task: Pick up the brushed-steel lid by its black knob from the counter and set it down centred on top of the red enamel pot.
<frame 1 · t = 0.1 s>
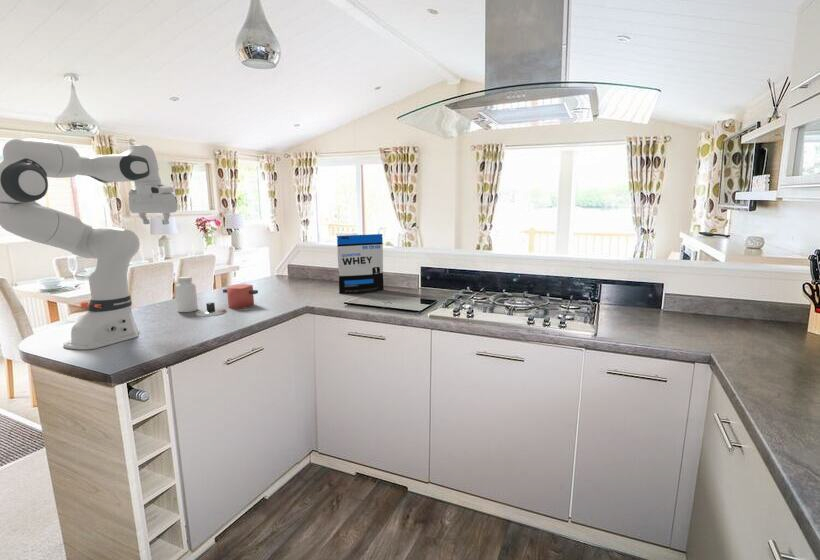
hand: (156, 224, 171), 39 cm above the table, tool pointing down, fingers open, 8 cm apart
lid: (211, 313, 187), on the table
pill bottle: (188, 310, 192), on the table
protein powder: (361, 292, 228), on the table
pot: (241, 305, 199), on the table
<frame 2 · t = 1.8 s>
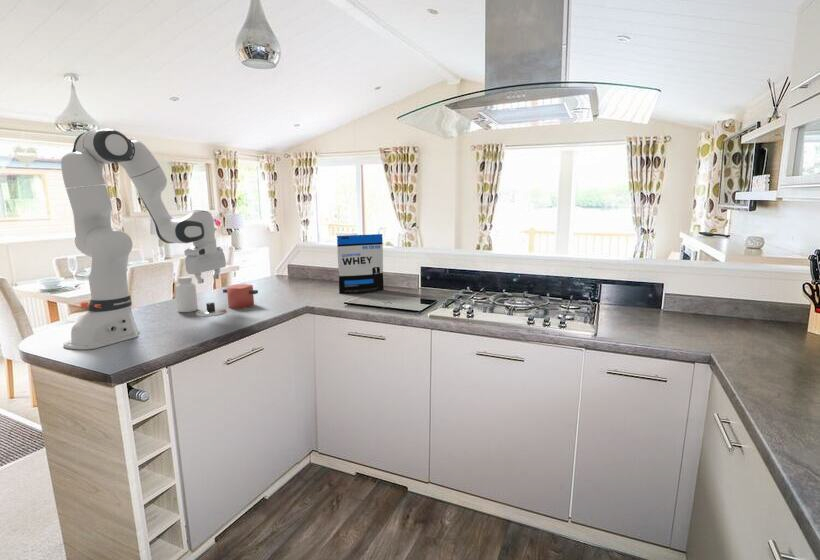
hand: (208, 281, 185), 14 cm above the table, tool pointing down, fingers open, 8 cm apart
nothing on the table moved.
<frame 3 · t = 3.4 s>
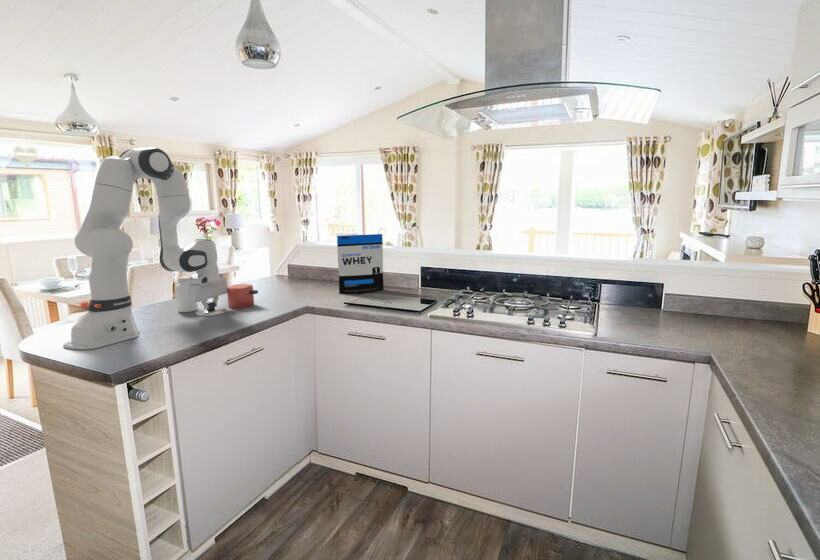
hand: (210, 307, 187), 2 cm above the table, tool pointing down, fingers closed on lid, 3 cm apart
lid: (211, 312, 187), on the table, touching gripper
everything else where it was.
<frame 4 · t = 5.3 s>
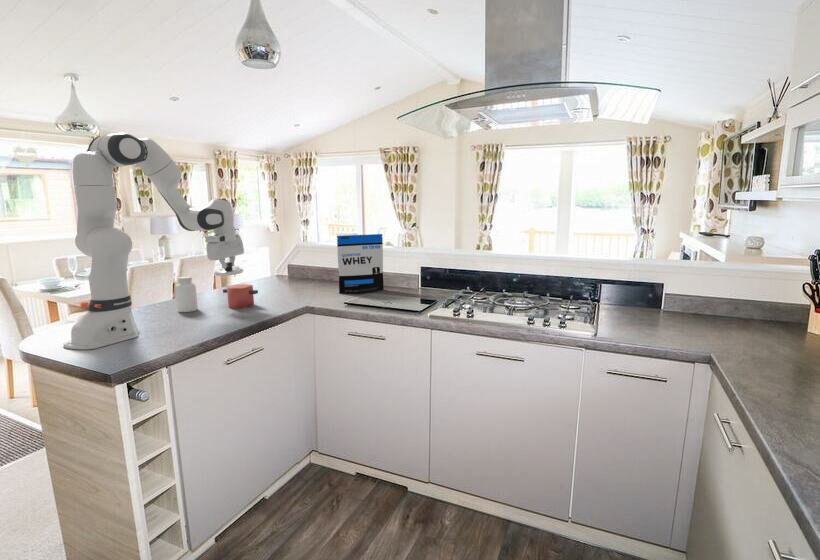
hand: (228, 267, 192), 19 cm above the table, tool pointing down, fingers closed on lid, 3 cm apart
lid: (228, 272, 193), point 16 cm above the table, touching gripper
everything else where it was.
when the fingers open (13 cm above the table, at t = 6.7 s): lid stays where it is, resting on pot.
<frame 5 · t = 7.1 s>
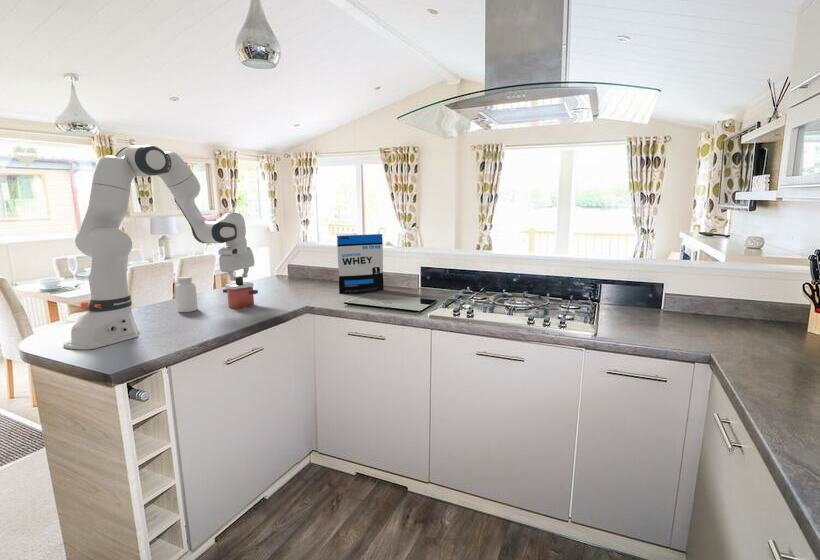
hand: (239, 279, 197), 13 cm above the table, tool pointing down, fingers open, 7 cm apart
lid: (239, 286, 198), point 9 cm above the table, touching pot
everything else where it was.
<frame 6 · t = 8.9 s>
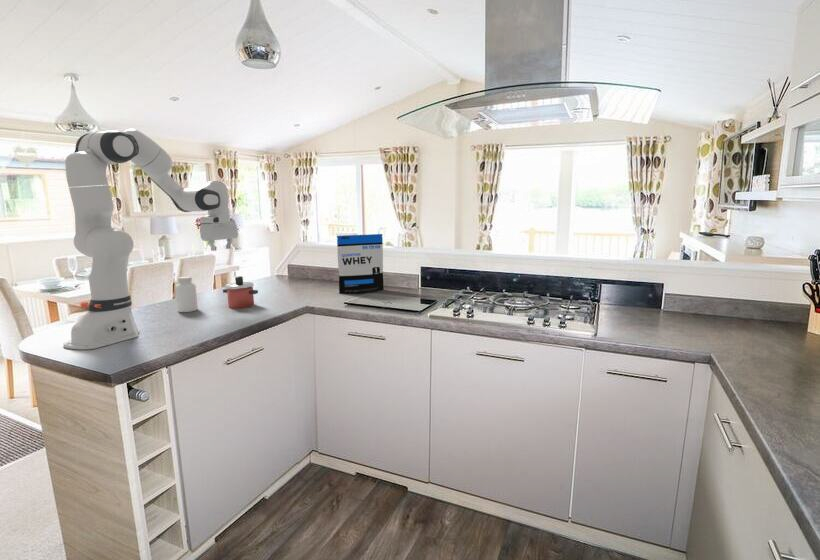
hand: (221, 249, 194), 26 cm above the table, tool pointing down, fingers open, 8 cm apart
nothing on the table moved.
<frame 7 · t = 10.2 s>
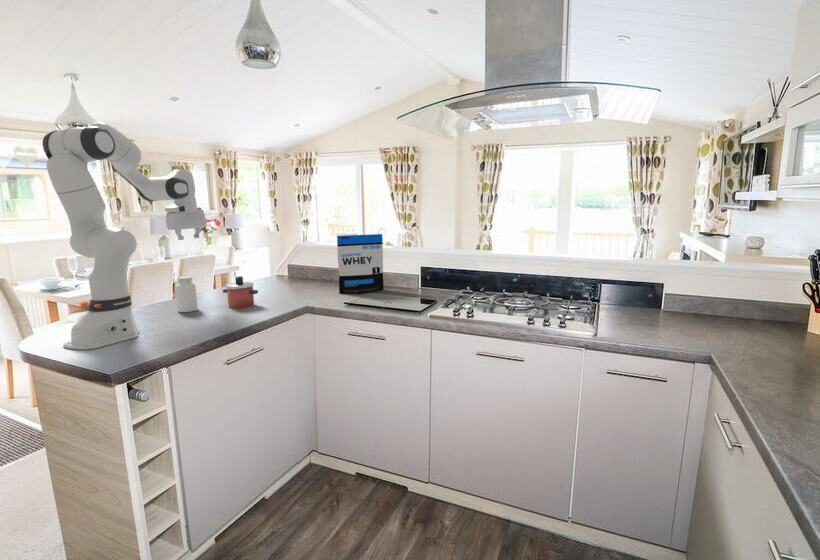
hand: (189, 239, 193), 31 cm above the table, tool pointing down, fingers open, 8 cm apart
nothing on the table moved.
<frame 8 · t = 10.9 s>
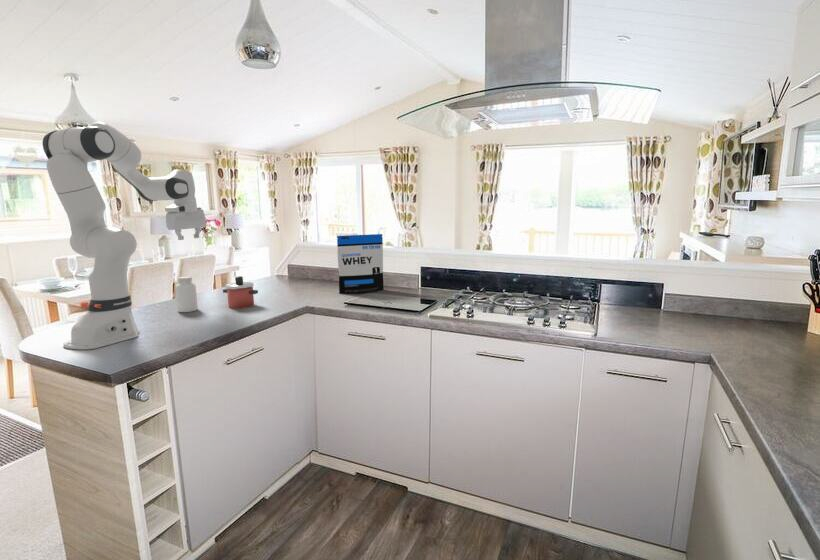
hand: (189, 239, 193), 31 cm above the table, tool pointing down, fingers open, 8 cm apart
nothing on the table moved.
at the end: lid 0.1 cm from the pot (horizontally); lid 0.1 cm off-centre on the pot, point 9.0 cm above the pot's base; the gripper is holding nothing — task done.
